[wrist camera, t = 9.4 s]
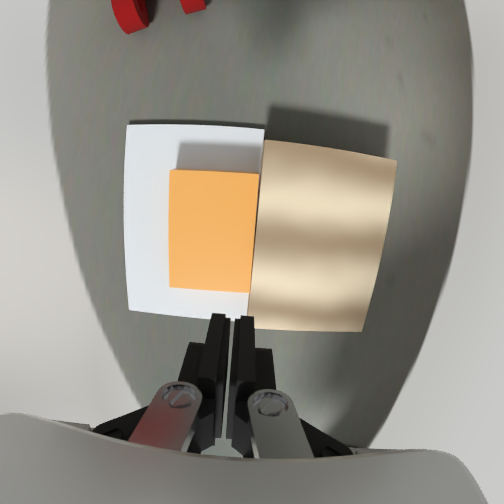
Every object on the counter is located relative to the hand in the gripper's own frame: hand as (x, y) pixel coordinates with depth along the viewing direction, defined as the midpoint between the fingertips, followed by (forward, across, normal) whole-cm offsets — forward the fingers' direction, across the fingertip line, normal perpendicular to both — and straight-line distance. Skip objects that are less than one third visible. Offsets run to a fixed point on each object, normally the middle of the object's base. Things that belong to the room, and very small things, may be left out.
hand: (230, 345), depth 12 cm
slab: (+16, +2, -1) cm, 16 cm away
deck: (+16, -7, -1) cm, 18 cm away
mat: (+16, +5, -1) cm, 17 cm away
